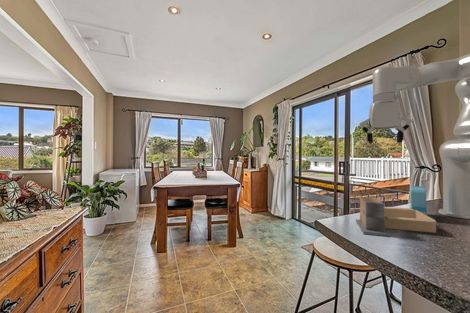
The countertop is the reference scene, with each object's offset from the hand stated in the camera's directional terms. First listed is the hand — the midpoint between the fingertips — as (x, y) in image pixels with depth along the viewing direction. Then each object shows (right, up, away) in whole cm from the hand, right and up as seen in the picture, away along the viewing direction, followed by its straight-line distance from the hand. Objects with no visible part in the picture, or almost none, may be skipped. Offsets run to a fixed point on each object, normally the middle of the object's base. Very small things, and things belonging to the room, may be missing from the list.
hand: (384, 142), depth 83 cm
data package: (+16, -30, +3) cm, 35 cm away
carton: (+2, -30, -6) cm, 31 cm away
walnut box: (-12, -30, -10) cm, 34 cm away
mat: (-12, -30, -10) cm, 34 cm away
